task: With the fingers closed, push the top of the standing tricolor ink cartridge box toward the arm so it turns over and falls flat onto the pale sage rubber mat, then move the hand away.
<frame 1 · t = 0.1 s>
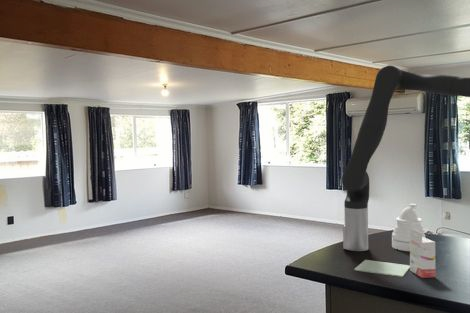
ink cartridge box: (422, 274, 148), on the kitchen counter
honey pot: (408, 247, 182), on the kitchen counter
mat: (382, 268, 155), on the kitchen counter
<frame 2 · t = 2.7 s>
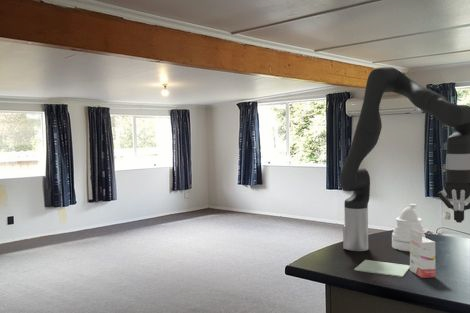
hand: (459, 222, 141), 18 cm above the kitchen counter, tool pointing down, fingers closed
nothing on the kitchen counter moved.
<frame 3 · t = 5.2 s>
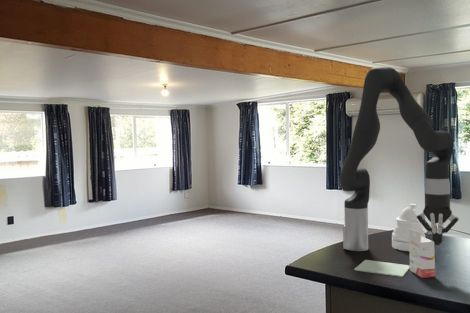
hand: (437, 244, 145), 10 cm above the kitchen counter, tool pointing down, fingers closed
nothing on the kitchen counter moved.
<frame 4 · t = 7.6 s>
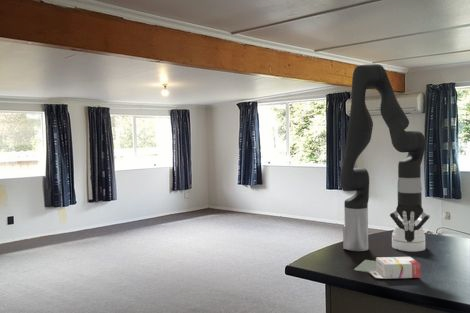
hand: (409, 241, 149), 10 cm above the kitchen counter, tool pointing down, fingers closed
ink cartridge box: (415, 266, 146), point 3 cm above the kitchen counter, touching mat
everything else where it was.
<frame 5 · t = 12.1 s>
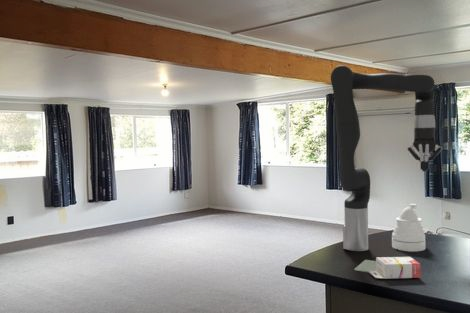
hand: (424, 171, 174), 32 cm above the kitchen counter, tool pointing down, fingers closed
nothing on the kitchen counter moved.
at the end: ink cartridge box tilted 90°; ink cartridge box inside the target area (10.6 cm from its centre), point 2.9 cm above the kitchen counter; the gripper is holding nothing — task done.
